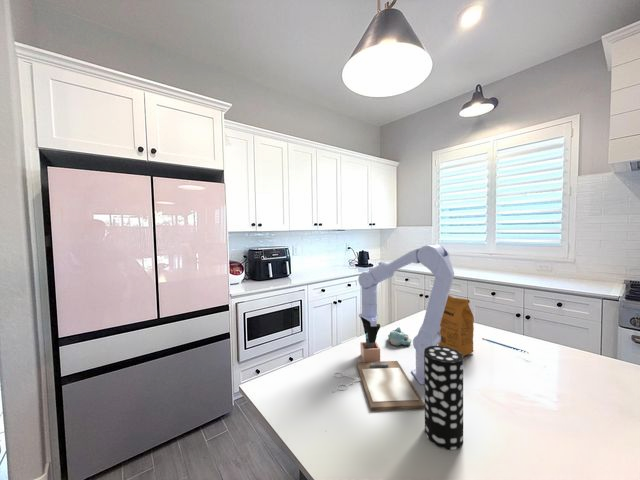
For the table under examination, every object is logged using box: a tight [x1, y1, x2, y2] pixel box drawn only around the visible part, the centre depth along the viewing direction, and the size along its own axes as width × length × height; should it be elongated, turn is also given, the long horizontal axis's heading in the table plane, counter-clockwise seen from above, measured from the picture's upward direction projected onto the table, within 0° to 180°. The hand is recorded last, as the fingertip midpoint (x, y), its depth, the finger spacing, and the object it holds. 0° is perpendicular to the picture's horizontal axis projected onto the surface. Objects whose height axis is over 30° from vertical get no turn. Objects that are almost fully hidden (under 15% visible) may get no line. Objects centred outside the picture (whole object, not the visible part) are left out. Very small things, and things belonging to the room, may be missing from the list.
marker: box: [365, 333, 373, 349], centre depth 100 cm, size 3×3×9 cm
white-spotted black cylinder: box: [423, 346, 464, 451], centre depth 62 cm, size 8×8×20 cm
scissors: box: [332, 371, 362, 393], centre depth 86 cm, size 11×1×20 cm
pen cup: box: [360, 341, 381, 362], centre depth 100 cm, size 6×6×5 cm
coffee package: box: [438, 294, 475, 357], centre depth 105 cm, size 10×12×22 cm
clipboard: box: [356, 360, 425, 412], centre depth 84 cm, size 15×24×2 cm, turn 1°
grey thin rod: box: [481, 337, 529, 354], centre depth 108 cm, size 1×17×1 cm, turn 35°
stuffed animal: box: [387, 326, 412, 346], centre depth 114 cm, size 11×7×12 cm
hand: (369, 338), depth 100 cm, fingers open, 7 cm apart
